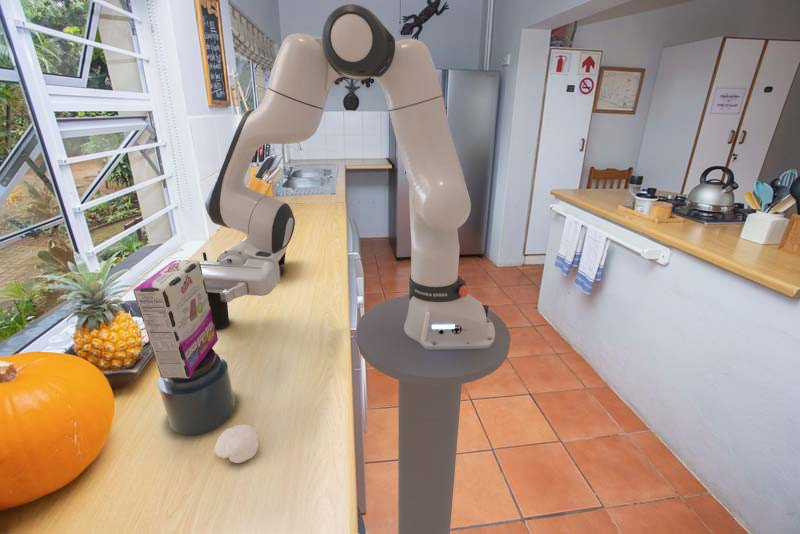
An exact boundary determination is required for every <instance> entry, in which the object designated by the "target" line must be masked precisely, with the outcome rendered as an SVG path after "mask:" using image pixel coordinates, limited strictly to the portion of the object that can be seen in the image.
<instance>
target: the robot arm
mask: <svg viewBox="0 0 800 534" xmlns="http://www.w3.org/2000/svg"><path fill="white" fill-rule="evenodd" d="M370 78H372V79H374V80H376V81H377V82H378V84H379V85H380V87H381V89H382V92H383V95H384V98H385V100H386V106H387V110H388V113H389V117H390V121H391V126H392V129H393V132H394V136H395V140H396V144H397V148H398V151H399V152H398V153H399V155H400V158H401V162H402V164H403V165H402V166H403V167H404V171H405V175H406V179H407V181H408V185H409V190H408V195H409V197H408V199H409V201H408V202H409V203H408V204H409V227H410V228H409V229H410V252H411V253H410V274H409V278H408V285H407V286H408V290H407V291H408V292H407V293H408V294H407V295H409V299H410V301H409V309H408V314H407V318H406V321H405V324H404V331H405V333H406V334H407V335H408V336H409V337H410V338H412V339H413V340H415V341H417V342H419V343H420V344H421V345H422V346H423V347H424V348H425V349H427V350H448V349H486V348H490V347H491V346H492V345H493V343H494V340H495V329H494V325H493V323H492V322H491V320H490V319H489V318H488V317H487V315H488V309H489V305H488V304H482V303H481V301H480V300H478V299H476V298H475V297H474V296H472V295H471V294H470V293H469V292H468V291H469V289H468V287H467V282H466V280H465V277H464V276H462V277H461V276H459V265H460V262H459V261H460V241H459V232H458V229H459V228H460V227H462V226H463V225H464V224H465V223H466V221H467V220H468V218H469V217H470V213H471V209H472V203H471V202H472V201H471V198H470V194H469V191H468V188H467V183H466V179H465V175H464V171H463V169H462V166H461V162H460V159H459V156H458V152H457V149H456V147H455V143H454V140H453V136H452V131H451V129H450V128H451V127H450V123H449V118H448V114H447V109H446V104H445V99H444V95H443V89H442V85H441V82H440V77H439V74H438V71H437V68H436V65H435V62H434V60H433V56H432V55H431V52H430V50H429V48H428V46H427V45H426V44H425V43H424V42H423V41H422V40H419V39H416V38H403V39H400V40H396V38H395V37H394V35H392V32H390V31H389V29H388V28H386V26H385V25H384V24H383V23H382V21H381V20H380V19H379V18H378V16H377V15H375V14H374V13H373V11H371V10H369V9H368V8H366V7H364V6H363V5H360V4H354V3H349V4H343V5H341V6H338V7H337V8H336V9H334V10H333V11H332V12H331V13H330V14H329V16H328V17H327V18H326V20H325V22H324V25H323V28H322V35H321V36H320V37H316V36H313V35H310V34H307V33H303V32H302V33H301V32H299V33H292V34H289V35H287V36H286V37H285V38H284V39H283V41H282V43H281V45H280V47H279V49H278V52H277V54H276V57H275V60H274V62H273V65H272V68H271V72H270V75H269V79H268V83H267V87H266V91H265V94H264V96H263V99H261V101H260V103H259V104H258V106H257V107H256V108H254V109H249V110H247V111H246V112H245V113H244V114H243V116H242V117H241V119H240V121H239V123H238V125H237V127H236V130H235V131H234V134H233V137H232V139H231V141H230V144H229V146H228V149H227V152H226V155H225V157H224V159H223V162H222V164H221V167H220V169H219V172H218V175H217V176H216V179H215V181H214V182H213V184H212V186H211V187H210V189H209V191H208V193H207V195H206V198H205V201H204V207H205V211H206V212H207V215H208V217H209V219H210V220H211V221H212V223H213V224H214V225H217V226H221V227H225V228H227V229H232V230H234V231H237V232H240V233H242V234H244V235H246V237H244V238H243V239H242V240H241V241H239V242H236V243H234V244H233V245H231V246H230V247H228V248H227V249H224V250H223V251H222V252H221V253H219V255H218V257H217V259H216V261H215V260H214V261H213V260H207V261H204V260H199V261H200V265H201V270H202V274H203V278H204V283H205V287H206V291H207V292H214V293H220V297H221V301H224V302H227V303H231V302H232V301H233V300H234V299H237V298H241V297H244V296H257V297H263V296H267V295H270V294H271V293H272V292H273V291H274V290H275V289H276V288H277V286H278V285H279V284H280V283H281V276H280V270H279V264H278V261H279V260H280V259H281V257H282V256H283V254H284V253H285V251H287V248H288V245H289V243H290V242H291V240H292V238H293V234H294V231H295V226H296V220H295V216H294V213H293V210H292V208H291V206H290V205H289V204H288V203H287V202H285V201H282V200H279V199H277V198H275V197H272V196H270V195H266V194H264V193H262V192H259V191H256V190H254V189H252V188H250V187H248V186H247V185H245V182H244V181H245V178H246V175H247V173H248V171H249V169H250V166H251V163H252V161H253V158H254V156H255V154H256V152H257V150H258V149H259V148H261V147H262V146H264V145H291V144H298V143H302V142H304V141H307V140H309V139H310V138H311V137H312V136H314V135H315V133H316V132H317V130H318V129H319V126H320V123H321V120H322V118H323V115H324V110H325V107H326V103H327V99H328V96H329V92H330V90H331V88H332V85H333V84H334V82H336V81H337V79H338V80H353V81H364V80H368V79H370ZM285 254H286V253H285Z"/></svg>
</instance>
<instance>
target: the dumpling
mask: <svg viewBox="0 0 800 534" xmlns="http://www.w3.org/2000/svg"><path fill="white" fill-rule="evenodd" d="M214 443H215V445H214V453H215V455H216V456H217V457H218V458H221V459H227V458H228V459H229V461H230V462H231V463H234V464H241V463H245V462H246V461H248V460H250V459H252V458H253V457H254V456H255V455H256V454H257V451H258V449H259V439H258V436H257V431H256V429H255V428H254V427H253V426H251V425H249V424H238V425H235V426H230V427H228V428H225V430H223V432H222V433H221V434H220V435H219V436H218V438H217V440H215V441H214Z"/></svg>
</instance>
